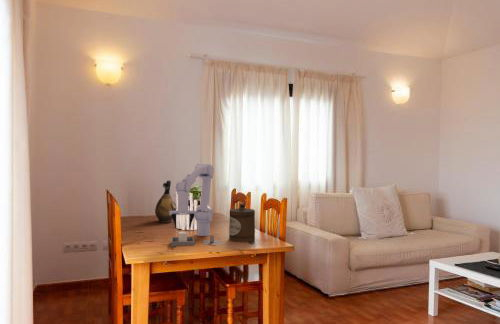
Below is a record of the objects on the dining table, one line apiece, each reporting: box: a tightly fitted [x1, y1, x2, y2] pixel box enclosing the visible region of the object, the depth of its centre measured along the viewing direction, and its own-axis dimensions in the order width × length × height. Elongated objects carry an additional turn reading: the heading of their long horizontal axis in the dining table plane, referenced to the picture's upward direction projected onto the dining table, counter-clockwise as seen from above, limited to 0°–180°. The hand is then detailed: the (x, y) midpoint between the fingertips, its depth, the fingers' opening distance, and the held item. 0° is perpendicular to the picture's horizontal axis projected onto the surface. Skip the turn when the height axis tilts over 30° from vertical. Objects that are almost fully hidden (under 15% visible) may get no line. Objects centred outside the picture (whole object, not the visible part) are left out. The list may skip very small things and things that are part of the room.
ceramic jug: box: [154, 180, 177, 223], centre depth 292 cm, size 17×15×30 cm
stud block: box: [201, 234, 223, 246], centre depth 220 cm, size 12×10×5 cm
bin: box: [170, 236, 195, 249], centre depth 218 cm, size 12×12×3 cm
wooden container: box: [228, 202, 256, 244], centre depth 230 cm, size 15×15×22 cm
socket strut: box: [178, 231, 188, 242], centre depth 218 cm, size 4×4×6 cm
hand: (182, 227), depth 218 cm, fingers open, 7 cm apart
